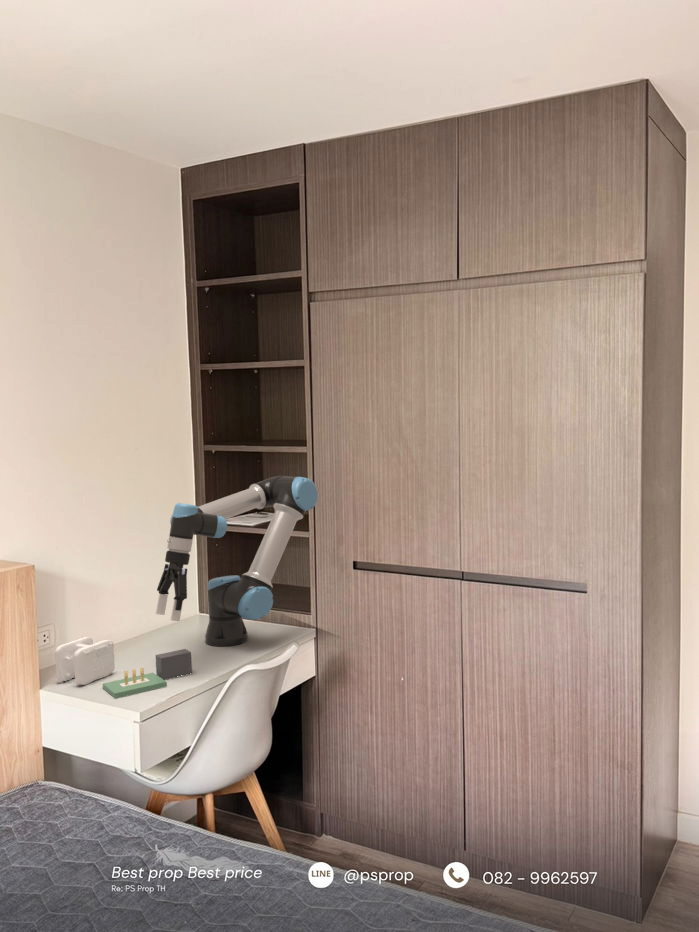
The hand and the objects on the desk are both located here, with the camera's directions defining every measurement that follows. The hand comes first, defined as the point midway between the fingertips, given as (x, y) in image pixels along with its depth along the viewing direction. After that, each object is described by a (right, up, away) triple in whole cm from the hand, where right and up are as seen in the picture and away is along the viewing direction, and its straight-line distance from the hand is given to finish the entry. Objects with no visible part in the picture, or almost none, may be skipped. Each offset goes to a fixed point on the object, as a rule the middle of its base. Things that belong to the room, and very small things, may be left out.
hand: (167, 617), depth 269 cm
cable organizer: (-25, -19, -3) cm, 31 cm away
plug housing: (+3, -18, -3) cm, 18 cm away
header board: (-7, -19, -13) cm, 24 cm away
